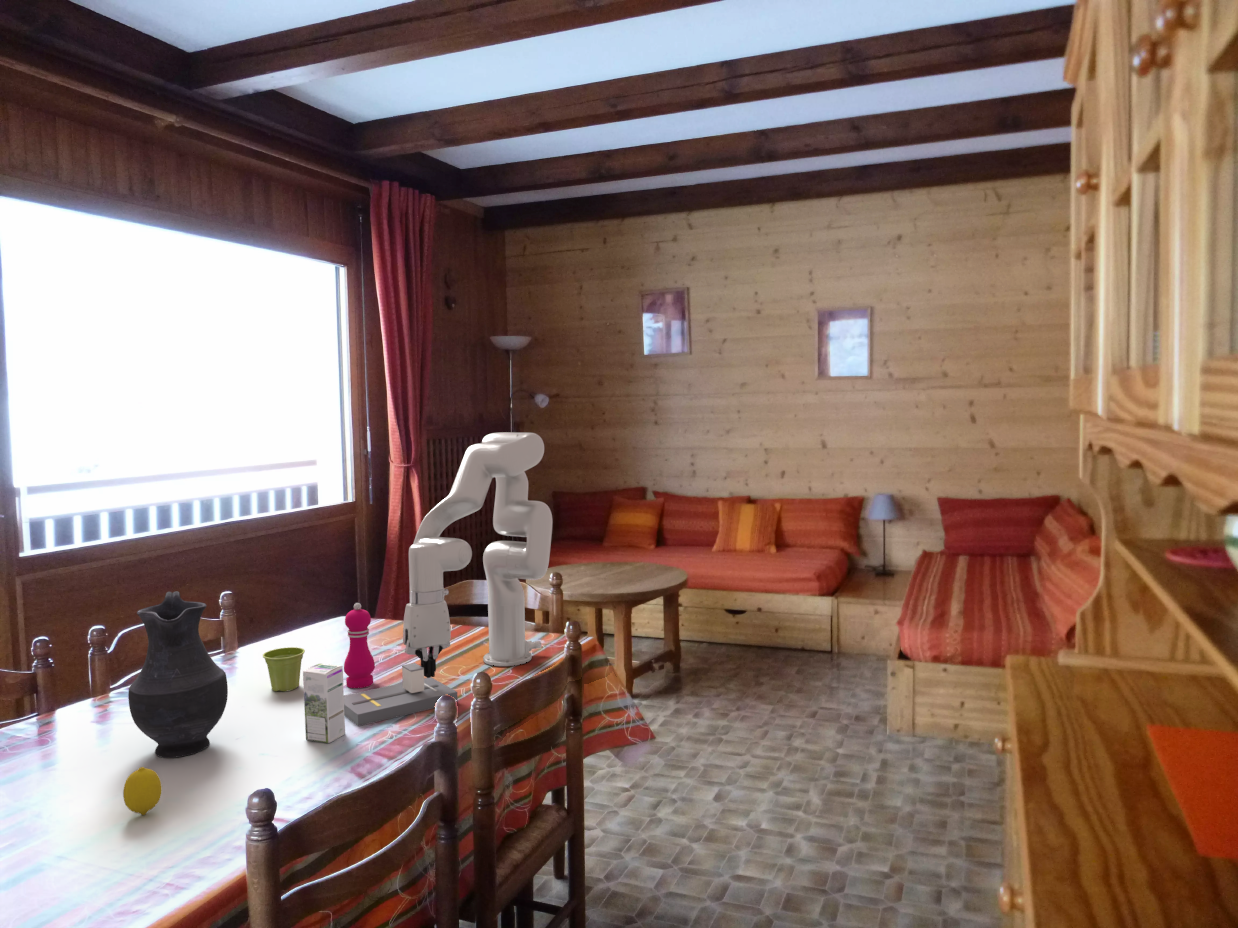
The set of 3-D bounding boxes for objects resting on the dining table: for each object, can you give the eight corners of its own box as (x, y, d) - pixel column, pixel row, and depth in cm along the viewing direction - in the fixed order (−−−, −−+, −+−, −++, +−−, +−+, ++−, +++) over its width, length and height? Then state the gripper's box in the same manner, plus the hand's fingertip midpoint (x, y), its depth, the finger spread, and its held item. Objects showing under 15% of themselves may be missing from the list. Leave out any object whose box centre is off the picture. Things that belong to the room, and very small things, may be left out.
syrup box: (346, 733, 178) (344, 664, 177) (328, 744, 172) (325, 672, 171) (323, 730, 180) (320, 661, 179) (304, 741, 174) (301, 670, 173)
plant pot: (272, 697, 202) (271, 660, 201) (258, 687, 209) (257, 652, 208) (312, 688, 208) (310, 652, 207) (297, 679, 215) (295, 644, 214)
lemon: (134, 807, 146) (131, 761, 145) (168, 806, 146) (166, 759, 146) (118, 823, 140) (115, 775, 140) (153, 821, 141) (151, 773, 140)
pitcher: (129, 773, 160) (121, 612, 158) (133, 736, 178) (126, 591, 176) (232, 754, 168) (226, 601, 166) (226, 721, 186) (220, 583, 184)
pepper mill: (379, 680, 213) (377, 599, 212) (368, 689, 206) (366, 606, 205) (351, 679, 214) (349, 599, 213) (339, 688, 207) (336, 606, 206)
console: (430, 687, 207) (430, 676, 207) (457, 702, 196) (457, 691, 196) (335, 708, 193) (334, 696, 193) (358, 725, 182) (357, 713, 182)
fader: (415, 684, 200) (414, 662, 200) (424, 690, 196) (424, 667, 196) (402, 687, 198) (401, 665, 198) (411, 693, 194) (411, 670, 194)
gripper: (449, 589, 205) (450, 666, 206) (388, 598, 196) (391, 678, 197) (463, 595, 199) (465, 673, 201) (402, 604, 190) (404, 686, 191)
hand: (428, 675), depth 199 cm, fingers closed
